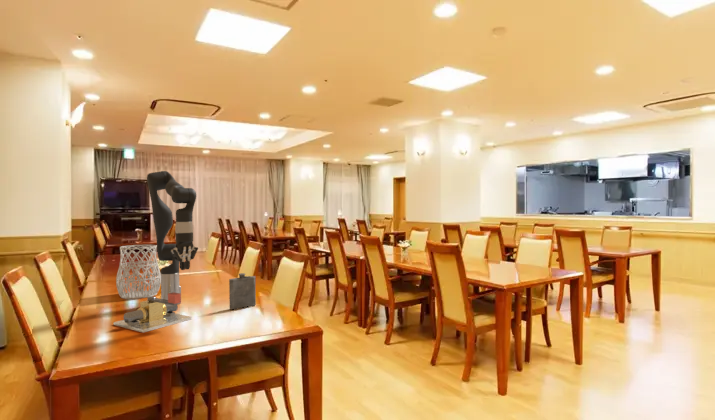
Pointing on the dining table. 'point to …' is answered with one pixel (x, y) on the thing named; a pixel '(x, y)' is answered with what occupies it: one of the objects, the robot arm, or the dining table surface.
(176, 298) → the lever
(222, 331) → the dining table surface
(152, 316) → the valve
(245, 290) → the flask
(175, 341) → the dining table surface
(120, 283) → the vase
